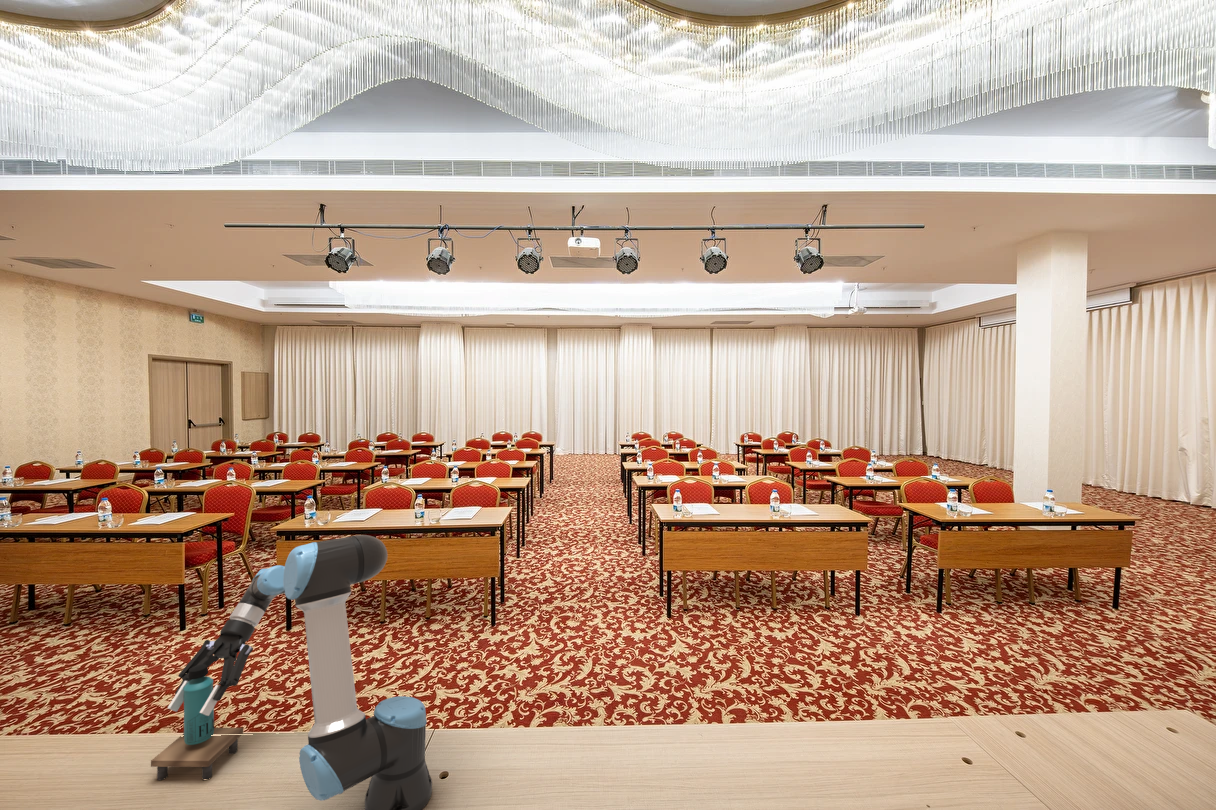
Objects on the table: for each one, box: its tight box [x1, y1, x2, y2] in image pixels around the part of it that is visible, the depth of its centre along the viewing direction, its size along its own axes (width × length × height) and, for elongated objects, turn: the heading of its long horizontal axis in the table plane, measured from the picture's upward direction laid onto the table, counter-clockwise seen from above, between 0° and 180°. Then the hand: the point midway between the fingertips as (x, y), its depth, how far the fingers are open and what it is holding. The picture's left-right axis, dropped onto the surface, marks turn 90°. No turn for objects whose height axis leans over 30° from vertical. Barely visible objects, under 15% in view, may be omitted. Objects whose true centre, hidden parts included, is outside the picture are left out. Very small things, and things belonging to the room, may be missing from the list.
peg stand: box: [150, 727, 244, 781], centre depth 137 cm, size 14×13×6 cm
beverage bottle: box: [182, 664, 216, 745], centre depth 136 cm, size 6×7×20 cm
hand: (188, 711), depth 133 cm, fingers open, 9 cm apart
